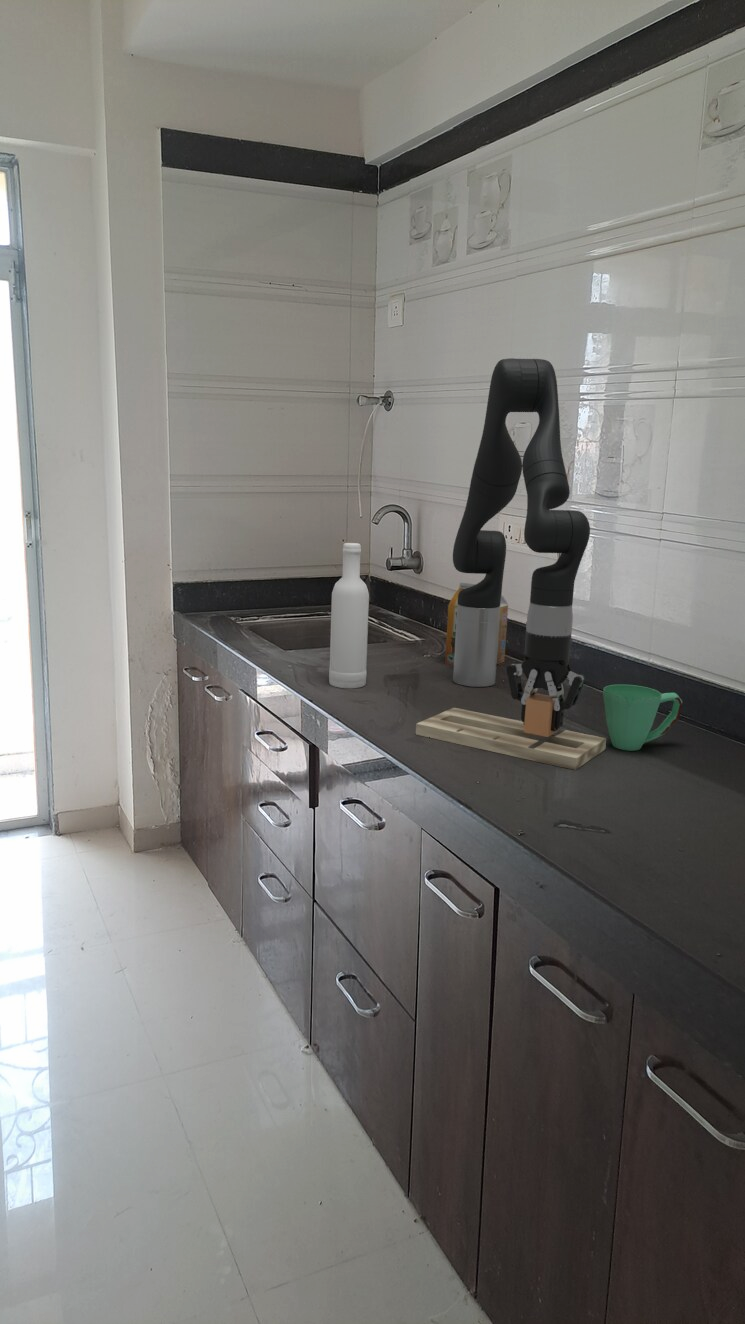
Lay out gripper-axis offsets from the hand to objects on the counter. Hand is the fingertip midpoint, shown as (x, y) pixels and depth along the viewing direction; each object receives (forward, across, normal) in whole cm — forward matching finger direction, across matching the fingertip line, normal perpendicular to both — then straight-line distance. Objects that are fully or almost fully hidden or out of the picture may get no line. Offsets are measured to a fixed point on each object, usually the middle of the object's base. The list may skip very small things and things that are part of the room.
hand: (541, 727), depth 163 cm
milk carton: (+4, +40, -53) cm, 66 cm away
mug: (+4, -13, -13) cm, 19 cm away
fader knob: (+4, 0, 0) cm, 4 cm away
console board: (+4, +6, 0) cm, 7 cm away
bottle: (+4, +51, -15) cm, 53 cm away
